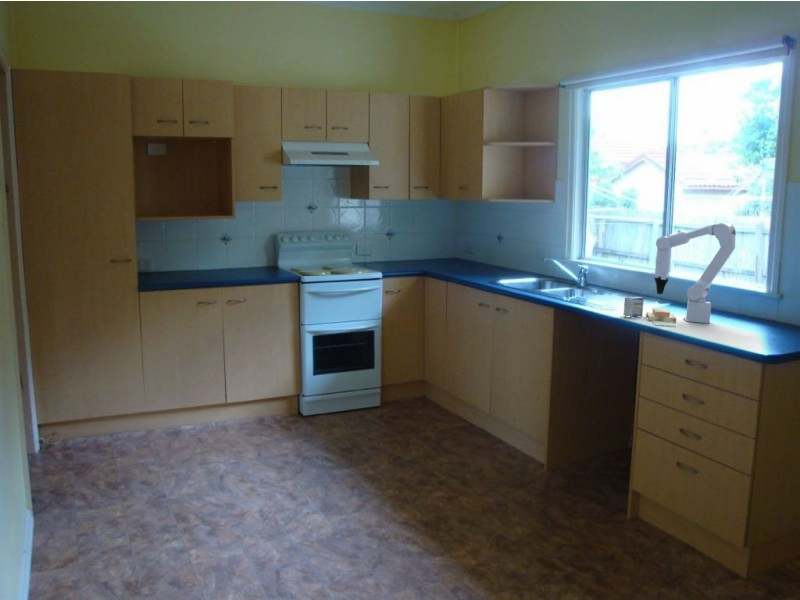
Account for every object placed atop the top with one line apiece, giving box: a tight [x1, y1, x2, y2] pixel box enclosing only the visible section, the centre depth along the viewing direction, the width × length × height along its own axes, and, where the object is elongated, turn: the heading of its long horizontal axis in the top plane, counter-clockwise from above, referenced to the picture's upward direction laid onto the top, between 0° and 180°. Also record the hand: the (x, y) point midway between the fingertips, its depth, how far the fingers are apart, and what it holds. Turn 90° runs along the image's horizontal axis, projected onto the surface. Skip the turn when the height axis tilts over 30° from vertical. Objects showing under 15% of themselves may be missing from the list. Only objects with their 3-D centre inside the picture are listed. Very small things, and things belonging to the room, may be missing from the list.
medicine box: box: [623, 296, 645, 318], centre depth 322 cm, size 8×4×9 cm, turn 126°
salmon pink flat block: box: [651, 307, 671, 317], centre depth 317 cm, size 6×9×2 cm, turn 167°
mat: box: [652, 321, 676, 328], centre depth 307 cm, size 8×10×1 cm
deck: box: [645, 311, 677, 324], centre depth 317 cm, size 11×11×2 cm
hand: (659, 293), depth 325 cm, fingers closed
